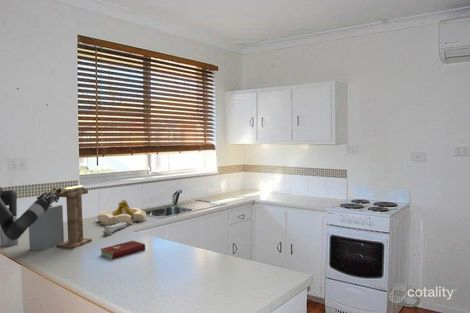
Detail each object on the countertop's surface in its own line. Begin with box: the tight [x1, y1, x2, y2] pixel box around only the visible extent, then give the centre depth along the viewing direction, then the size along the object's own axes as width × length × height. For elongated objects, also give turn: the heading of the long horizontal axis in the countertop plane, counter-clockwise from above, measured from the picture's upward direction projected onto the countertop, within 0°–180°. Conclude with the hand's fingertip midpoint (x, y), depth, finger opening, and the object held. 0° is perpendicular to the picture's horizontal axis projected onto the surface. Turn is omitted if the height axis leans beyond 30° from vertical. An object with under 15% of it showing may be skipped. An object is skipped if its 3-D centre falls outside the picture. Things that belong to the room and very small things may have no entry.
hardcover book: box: [99, 240, 146, 260], centre depth 214 cm, size 12×21×4 cm, turn 139°
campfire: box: [96, 199, 147, 226], centre depth 293 cm, size 35×34×17 cm
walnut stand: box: [56, 187, 93, 250], centre depth 231 cm, size 16×12×33 cm
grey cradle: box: [28, 204, 65, 252], centre depth 228 cm, size 16×10×24 cm, turn 161°
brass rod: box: [48, 184, 84, 195], centre depth 226 cm, size 24×3×3 cm, turn 161°
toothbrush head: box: [102, 222, 128, 236], centre depth 261 cm, size 5×7×25 cm
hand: (57, 189), depth 219 cm, fingers closed on brass rod, 3 cm apart
